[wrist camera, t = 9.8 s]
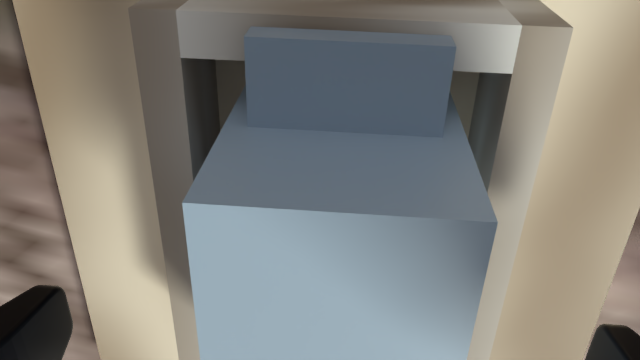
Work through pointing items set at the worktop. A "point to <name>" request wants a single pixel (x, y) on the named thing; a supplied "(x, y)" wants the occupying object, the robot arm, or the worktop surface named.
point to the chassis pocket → (229, 80)
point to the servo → (339, 205)
